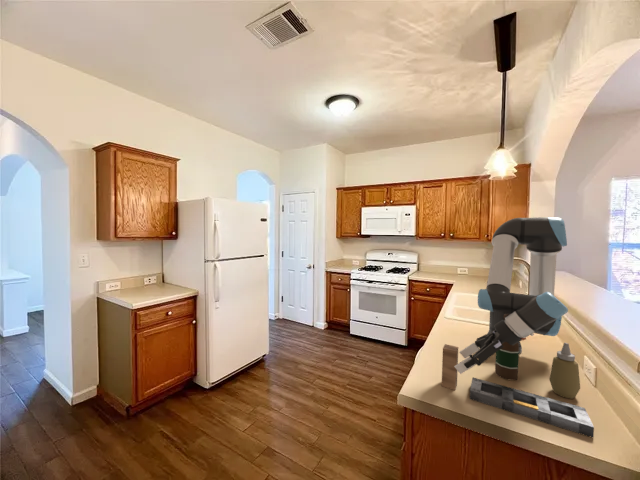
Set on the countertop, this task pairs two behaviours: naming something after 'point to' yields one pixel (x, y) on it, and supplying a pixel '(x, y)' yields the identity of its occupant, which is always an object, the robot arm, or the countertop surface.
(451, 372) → the walnut peg
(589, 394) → the countertop surface
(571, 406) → the metal rail
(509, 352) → the beer bottle
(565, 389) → the squeeze bottle
